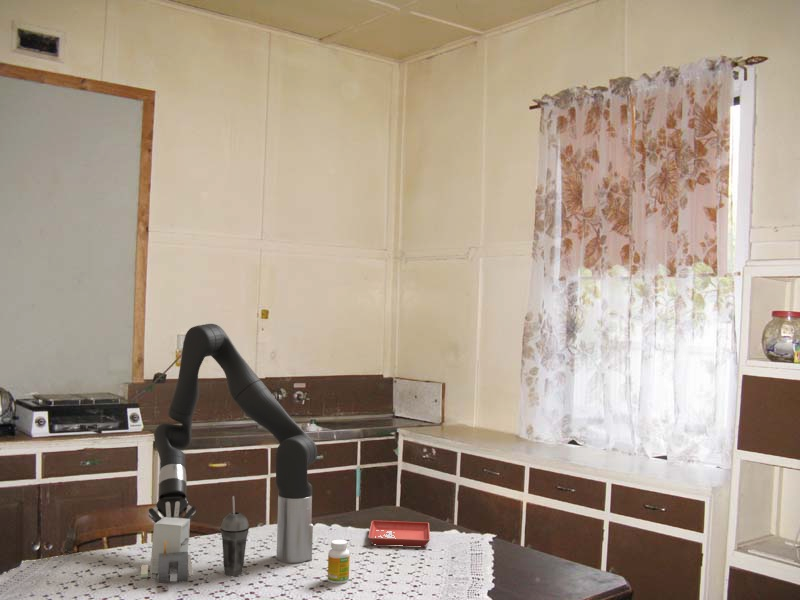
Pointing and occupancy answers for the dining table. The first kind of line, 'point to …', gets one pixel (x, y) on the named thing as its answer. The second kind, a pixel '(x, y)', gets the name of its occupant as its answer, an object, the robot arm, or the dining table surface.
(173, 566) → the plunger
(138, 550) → the dining table surface
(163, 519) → the supplement box
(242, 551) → the beverage cup
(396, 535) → the plant saucer
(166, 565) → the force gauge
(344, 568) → the supplement bottle
